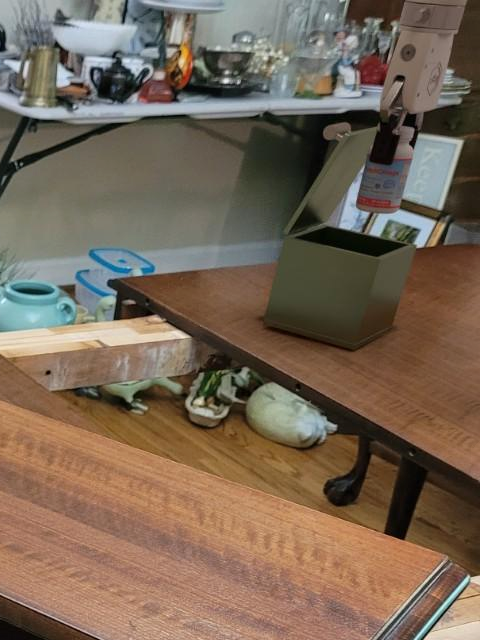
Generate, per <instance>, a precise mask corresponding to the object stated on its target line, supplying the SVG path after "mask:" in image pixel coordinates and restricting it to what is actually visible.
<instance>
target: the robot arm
mask: <svg viewBox="0 0 480 640" xmlns="http://www.w3.org/2000/svg"><path fill="white" fill-rule="evenodd" d="M467 3H468V0H405V1H404V4H403V7H402V10H401V11H402V12H401V15H400V18H399V21H398V26H397V30H401V32H400V35H399V37H398V40H397V43H396V46H395V49H394V51H393V54H392V57H391V60H390V63H389V66H388V70H387V73H386V76H385V79H384V83H383V87H382V91H381V95H380V100H379V116H378V117H379V118H378V124H377V126H376V127H377V130H376V131H377V132H376V136H375V139H374V143H373V147H372V150H371V154H370V157H369V161H370V162H372V163H377V164H383V165H391V164H392V163H393V160H394V157H395V153H396V150H397V146H398V143H399V139H400V136H401V135H398V133H399V131H400V128H401V126H407V127H412V128H414V134H413V138H411V139H412V140H411V141H409V145H410V146H411V147H412V148H413V151H414V152H415V147H416V145H417V140H418V137H419V133H420V130H421V129H422V126H423V121H424V116H425V115H426V114H427V112H430V111H433V110H434V109H435V108H436V107H437V106H438V104H439V102H440V101H439V100H440V96H441V94H442V89H443V87H444V81H445V78H446V74H447V71H448V70H447V69H448V67H449V66H448V65H449V61H450V57H451V52H452V47H453V42H454V35H457V34H458V32H459V29H460V26H461V22H462V19H463V16H464V12H465V9H466V6H467ZM396 117H397V118H396Z"/></svg>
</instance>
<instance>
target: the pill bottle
mask: <svg viewBox="0 0 480 640" xmlns="http://www.w3.org/2000/svg"><path fill="white" fill-rule="evenodd" d="M413 134H414V128H412V127H407V126H401V128H400V131H399V133H398V135H401V136H400V139H399V143H398V146H397V150H396V153H395V157H394V160H393V163H392V164H391V165H383V164H377V163H372V162H370V161H369V157H370V154H371V150H372V147H373V145H372V146H371V147H370V148H369V150H368V154H367V158H366V162H365V165H364V166H363V171H362V175H361V180H360V184H359V189H358V192H357V196H356V201H355V208H356V210H359V211H361V212H365V213H371V214H383V215H390V214H394V213H396V212H398V211H399V210H400V207H401V204H402V201H403V200H402V199H403V196H404V193H405V189H406V185H407V180H408V177H409V173H410V170H411V166H412V162H413V158H414V155H415V154H414V152H415V150H414V151H413V148H412V147H411V146H410V145H409V141H411V140H412V139H411V138H413Z"/></svg>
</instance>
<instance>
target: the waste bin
mask: <svg viewBox="0 0 480 640" xmlns="http://www.w3.org/2000/svg"><path fill="white" fill-rule="evenodd" d="M417 247H418V244H415V243H410V242H406V241H400V240H398V239H392V238H388V237H384V236H380V235H375V234H371V233H365V232H361V231H358V230H357V231H356V230H352V229H348V228H347V229H346V228H343V227H338V226H334V225H330V224H326V223H323V224H320V225H317V226H314V227H311V228H308V229H305V230H301V231H298V232H295V233H292V234H289V235H285V236H284V237H283V240H282V244H281V248H280V252H279V256H278V260H277V264H276V268H275V272H274V276H273V280H272V284H271V287H270V293H269V297H268V301H267V304H266V309H265V313H264V317H263V320H262V325H264V326H268V327H271V328H275V329H279V330H282V331H286V332H289V333H292V334H296V335H300V336H302V337H306V338H309V339H312V340H313V339H314V340H317V341H320V342H323V343H327V344H330V345H334V346H338V347H341V348H345V349H349V350H352V351H354V350H357V349H358V348H360V347H363V346H365V345H367V344H369V343H370V342H372V341H374V340H377V339H379V338H380V337H382V336H384V335H385V334H388V333H390V332H391V331H392V328H393V324H394V321H395V318H396V315H397V311H398V308H399V305H400V302H401V299H402V296H403V292H404V289H405V286H406V282H407V280H408V277H409V272H410V269H411V266H412V263H413V260H414V257H415V254H416V250H417Z"/></svg>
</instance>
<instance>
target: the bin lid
mask: <svg viewBox="0 0 480 640" xmlns="http://www.w3.org/2000/svg"><path fill="white" fill-rule="evenodd" d="M376 130H377V126H374V127H370V128H364V129H359V130H355V131H352V126H351V124H350V123H349V122H346V121H344V122H340V123H335V124H329V125H327V126H326V127H324V129H323V131H322V135H323V138H324V139H325V140H326V141H333V140H337V141H338V144H337V145H336V146H335V148H334V150H333V151H332V153H331V155H330V157H329V158H328V159H327V161H326V163H325V164H324V166H323V167H322V168H321V171H320V172H319V173H318V175H317V177H316V179H315V180H314V182H313V183H312V185H311V187H310V188H309V190H308V191H307V193H306V195H304V198H303V200H302V201H301V203H300V204H299V206H298V208H297V209H296V211H295V212H294V214H293V215H292V217H291V219H290V220H289V222H288V223H287V224H286V227H285V228H284V229H283V232H282V233H283V234H285V236H290V235H293V234H296V233H299V232H302V231H305V230H308V229H311V228H314V227H317V226H320V225H323V224H326V223H328V221H330V218H331V217H332V215H333V214H334V212H335V211H336V209H337V208H338V207H339V205H340V203H341V202H342V200H343V198H344V197H345V195H346V194H347V193H348V191H349V189H350V187H351V186H352V185H353V183H354V181H355V180H356V179H357V177H358V175H359V174H360V173H361V171H362V169H364V166H365V162H366V158H367V154H368V150H369V148H370V147H371V146H372V145H373V143H374V139H375V136H376V132H377V131H376Z"/></svg>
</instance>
